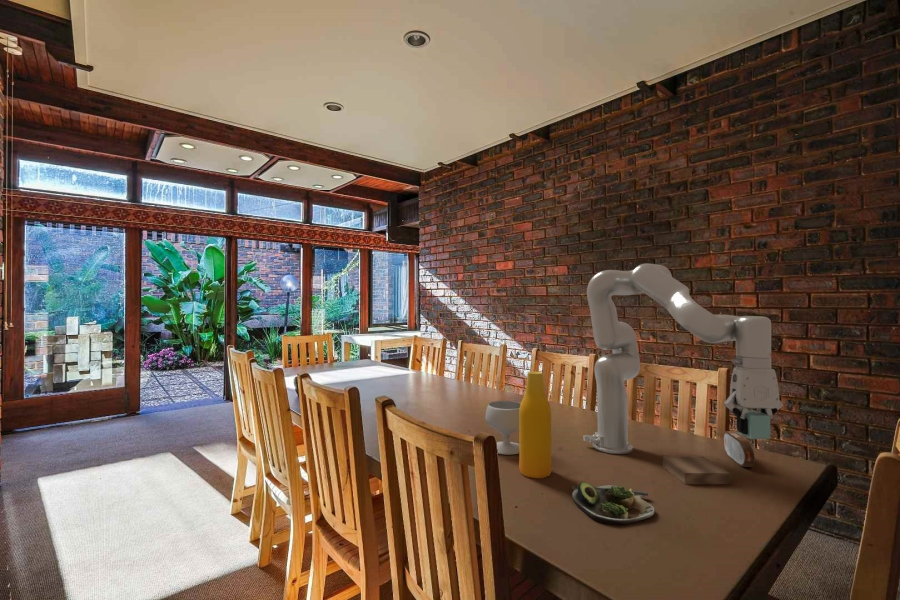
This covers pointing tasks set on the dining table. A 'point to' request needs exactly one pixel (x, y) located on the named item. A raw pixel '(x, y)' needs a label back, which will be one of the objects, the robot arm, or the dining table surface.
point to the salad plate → (611, 503)
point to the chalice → (504, 423)
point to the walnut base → (696, 470)
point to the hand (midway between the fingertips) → (753, 432)
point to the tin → (738, 449)
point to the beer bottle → (535, 429)
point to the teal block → (757, 425)
